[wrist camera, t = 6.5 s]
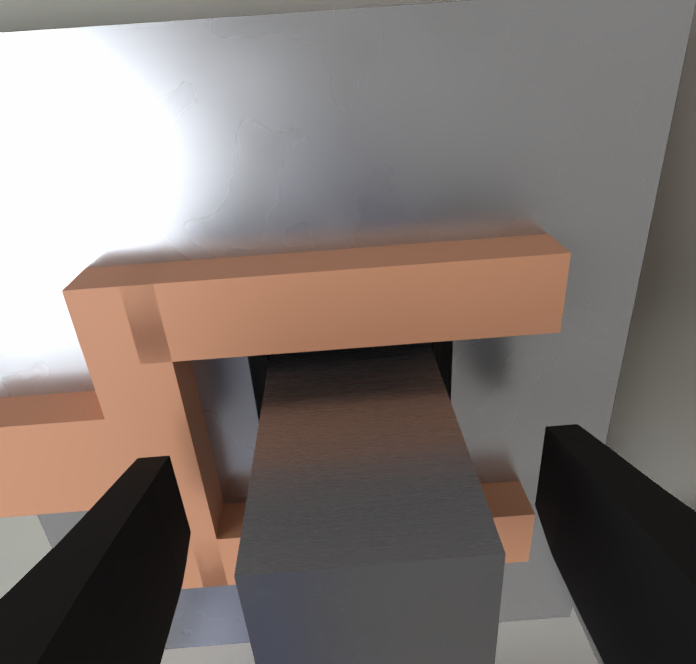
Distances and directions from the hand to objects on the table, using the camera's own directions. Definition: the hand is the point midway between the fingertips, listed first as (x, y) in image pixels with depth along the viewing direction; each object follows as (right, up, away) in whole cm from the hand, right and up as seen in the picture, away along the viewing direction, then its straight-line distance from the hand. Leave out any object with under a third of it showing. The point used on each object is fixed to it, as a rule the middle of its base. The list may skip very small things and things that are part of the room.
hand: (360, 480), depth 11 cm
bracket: (-2, +1, +2) cm, 3 cm away
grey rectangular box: (0, +2, +4) cm, 5 cm away
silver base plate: (-1, +2, +4) cm, 5 cm away
